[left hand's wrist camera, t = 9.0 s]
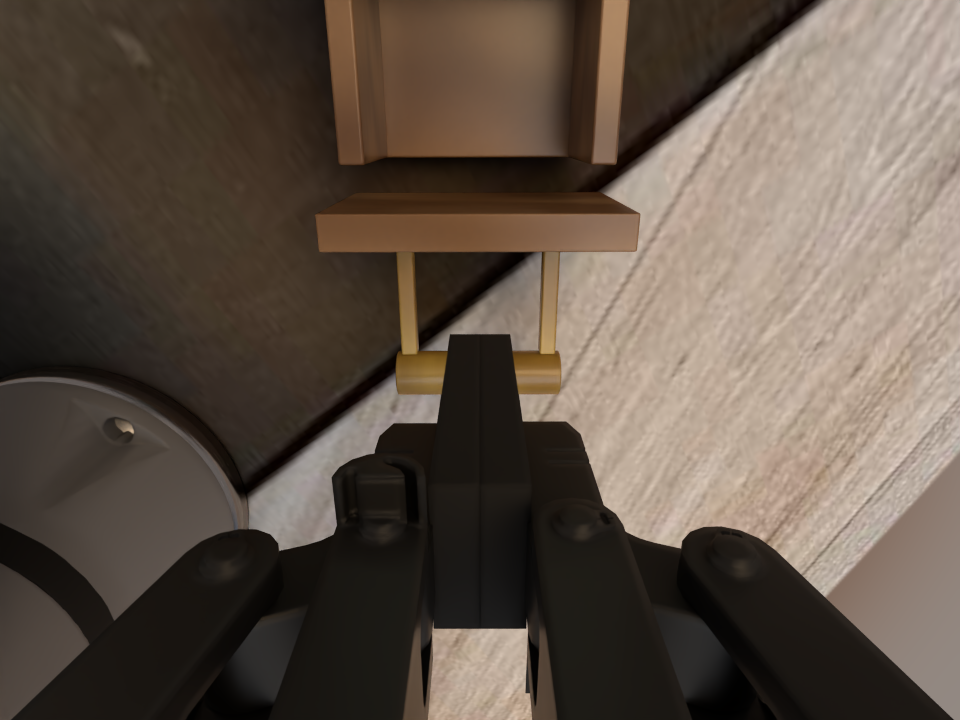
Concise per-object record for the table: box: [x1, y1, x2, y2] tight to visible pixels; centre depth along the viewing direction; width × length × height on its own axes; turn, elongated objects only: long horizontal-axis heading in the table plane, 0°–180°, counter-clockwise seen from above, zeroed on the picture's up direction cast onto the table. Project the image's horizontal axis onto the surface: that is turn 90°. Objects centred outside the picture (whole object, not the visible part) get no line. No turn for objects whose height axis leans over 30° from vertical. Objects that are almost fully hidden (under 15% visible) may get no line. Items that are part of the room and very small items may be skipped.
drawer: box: [315, 0, 640, 395], centre depth 19 cm, size 23×10×6 cm, turn 0°
